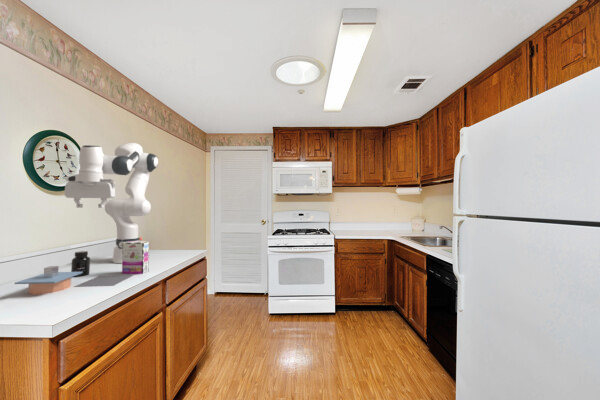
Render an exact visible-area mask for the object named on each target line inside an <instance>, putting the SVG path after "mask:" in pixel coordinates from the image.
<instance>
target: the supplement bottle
mask: <svg viewBox="0 0 600 400" xmlns="http://www.w3.org/2000/svg"><path fill="white" fill-rule="evenodd" d="M88 253H89V252H88V250H87V251H86V250H85V251H84V250H82V251H75V252H74V257H73V258H72V259H71V265H70V266H71V269H70V272H83V273H81V274H78V275H76V276H73V277H72V278H82V277H86V276H89V275H90V272H91V271H90V269H91V268H90V266H91V258H90V256H89V254H88Z"/></svg>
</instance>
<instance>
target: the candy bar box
mask: <svg viewBox="0 0 600 400" xmlns="http://www.w3.org/2000/svg"><path fill="white" fill-rule="evenodd" d="M149 255H150V241H149V240H148V241H146V240H145V241H142V240H140V241H128V242H123V252H122V263H121V264H122V265H121V268H122V269H121V273H122V275H143V274H146V273H148V272H150V271H149V269H150V268H149V265H150V261H149V260H150V256H149Z"/></svg>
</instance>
